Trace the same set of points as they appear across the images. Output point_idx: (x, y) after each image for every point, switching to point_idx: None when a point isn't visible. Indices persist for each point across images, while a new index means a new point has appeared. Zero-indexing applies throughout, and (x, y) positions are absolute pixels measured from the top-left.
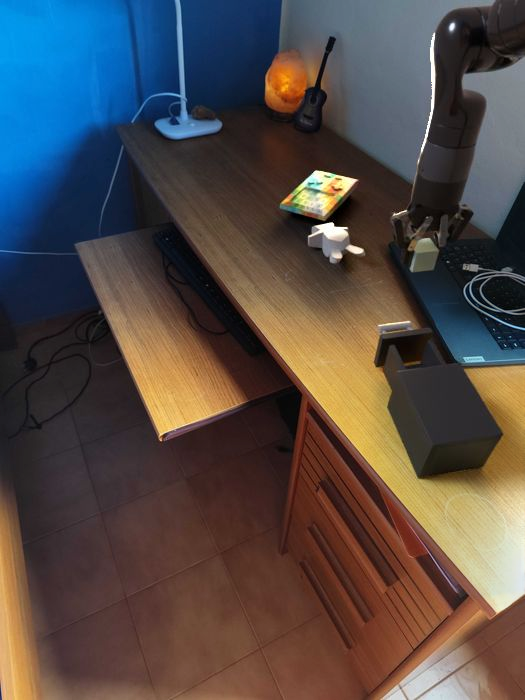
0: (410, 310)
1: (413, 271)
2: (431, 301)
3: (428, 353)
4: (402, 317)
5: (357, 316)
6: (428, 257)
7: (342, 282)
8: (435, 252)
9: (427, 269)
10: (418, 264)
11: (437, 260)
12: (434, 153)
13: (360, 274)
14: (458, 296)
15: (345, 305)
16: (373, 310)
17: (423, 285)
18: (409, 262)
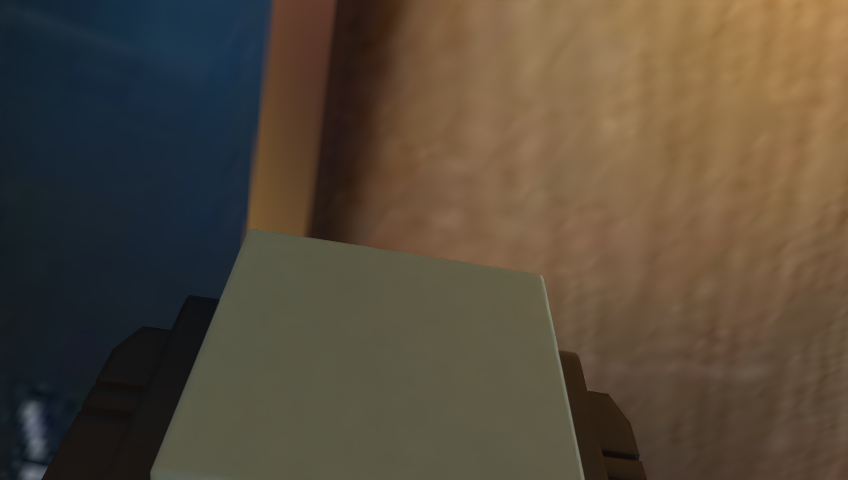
0: (393, 66)
1: (525, 279)
2: (197, 96)
3: None
4: (491, 20)
5: (773, 142)
6: (349, 400)
7: (640, 415)
8: (228, 455)
9: (338, 250)
10: (490, 340)
11: (148, 336)
12: None
13: None
14: None
15: (765, 255)
16: (635, 156)
17: (180, 248)
18: (574, 407)
